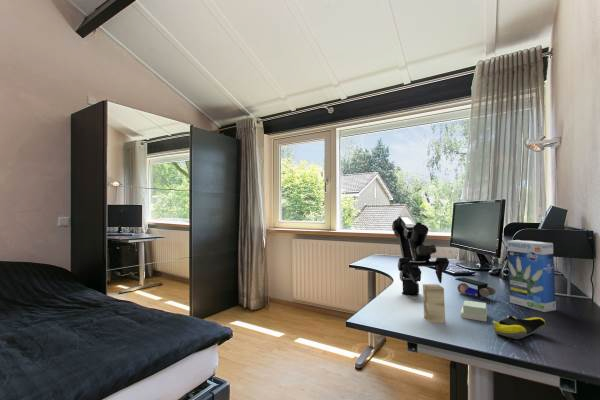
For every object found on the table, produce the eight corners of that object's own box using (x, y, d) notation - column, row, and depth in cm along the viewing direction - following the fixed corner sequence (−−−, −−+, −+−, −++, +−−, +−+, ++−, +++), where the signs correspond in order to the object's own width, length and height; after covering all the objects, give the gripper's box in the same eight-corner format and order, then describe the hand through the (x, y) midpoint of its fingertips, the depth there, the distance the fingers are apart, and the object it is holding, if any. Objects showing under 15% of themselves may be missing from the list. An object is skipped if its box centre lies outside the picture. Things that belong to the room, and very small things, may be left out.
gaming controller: (549, 336, 90) (513, 325, 99) (548, 318, 90) (512, 309, 99) (523, 348, 83) (487, 335, 92) (522, 328, 83) (486, 317, 92)
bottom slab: (460, 319, 107) (460, 312, 107) (462, 312, 113) (462, 306, 114) (486, 323, 102) (486, 316, 102) (487, 316, 109) (486, 309, 109)
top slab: (463, 312, 107) (463, 305, 107) (465, 307, 113) (464, 300, 113) (486, 315, 103) (485, 308, 103) (486, 309, 109) (486, 303, 109)
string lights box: (509, 302, 122) (505, 240, 123) (521, 300, 124) (517, 239, 125) (545, 312, 109) (541, 243, 110) (557, 309, 112) (553, 242, 113)
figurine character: (496, 303, 126) (463, 291, 140) (497, 285, 126) (464, 275, 139) (486, 305, 123) (453, 293, 137) (487, 288, 123) (454, 277, 136)
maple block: (424, 316, 108) (422, 284, 109) (439, 317, 108) (438, 284, 108) (429, 322, 103) (427, 288, 103) (445, 322, 102) (443, 288, 103)
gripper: (398, 237, 118) (406, 270, 107) (446, 237, 116) (459, 270, 105) (394, 254, 126) (401, 287, 114) (439, 254, 124) (451, 287, 112)
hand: (428, 282), depth 111 cm, fingers open, 9 cm apart
